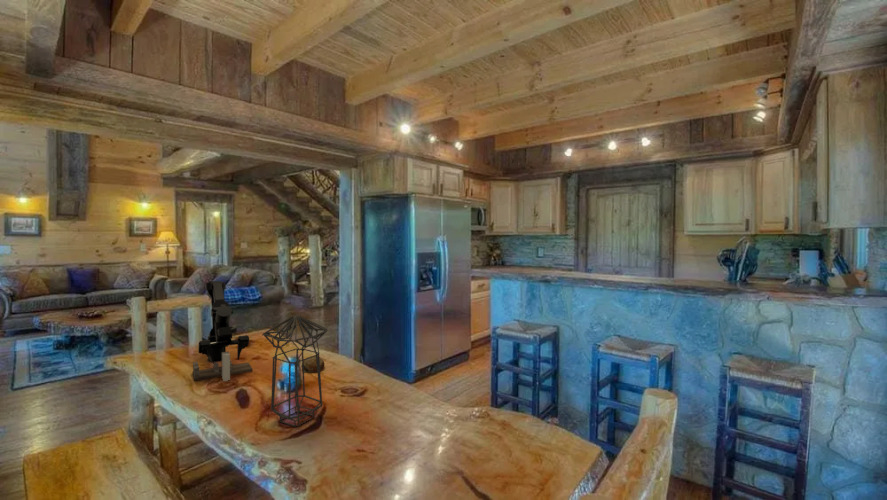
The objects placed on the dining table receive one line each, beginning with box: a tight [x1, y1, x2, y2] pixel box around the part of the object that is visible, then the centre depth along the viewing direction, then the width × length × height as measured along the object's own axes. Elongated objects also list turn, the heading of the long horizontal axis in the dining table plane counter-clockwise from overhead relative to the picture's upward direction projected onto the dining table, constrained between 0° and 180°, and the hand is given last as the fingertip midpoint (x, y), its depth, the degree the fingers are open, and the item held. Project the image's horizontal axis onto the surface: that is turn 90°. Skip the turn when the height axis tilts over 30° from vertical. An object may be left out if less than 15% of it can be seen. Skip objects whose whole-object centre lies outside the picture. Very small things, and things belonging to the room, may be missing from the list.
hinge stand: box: [192, 359, 253, 382], centre depth 172 cm, size 11×22×5 cm, turn 126°
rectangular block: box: [221, 351, 233, 382], centre depth 163 cm, size 5×3×11 cm, turn 36°
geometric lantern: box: [261, 314, 329, 428], centre depth 127 cm, size 16×16×35 cm
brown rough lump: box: [301, 355, 325, 374], centre depth 177 cm, size 10×10×8 cm
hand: (226, 361), depth 162 cm, fingers open, 9 cm apart
